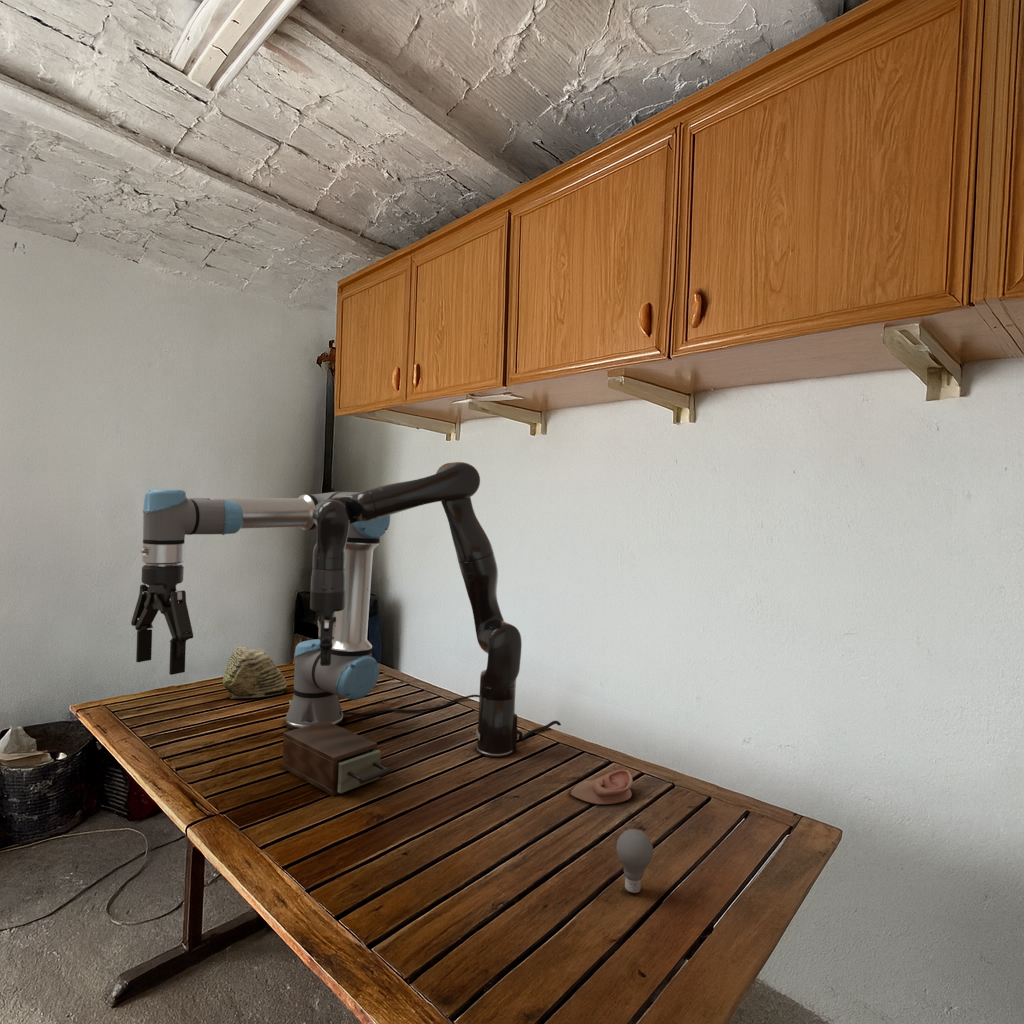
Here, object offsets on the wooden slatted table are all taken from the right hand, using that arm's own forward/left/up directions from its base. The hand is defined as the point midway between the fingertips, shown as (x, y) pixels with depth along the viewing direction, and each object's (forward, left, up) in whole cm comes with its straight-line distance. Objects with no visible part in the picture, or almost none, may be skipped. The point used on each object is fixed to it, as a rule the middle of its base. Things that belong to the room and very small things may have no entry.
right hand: (325, 660), depth 142 cm
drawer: (-4, +3, -26) cm, 26 cm away
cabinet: (-2, -2, -27) cm, 27 cm away
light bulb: (-42, +60, -27) cm, 78 cm away
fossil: (+11, -66, -27) cm, 72 cm away
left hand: (+33, -2, 0) cm, 33 cm away
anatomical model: (-56, +28, -27) cm, 68 cm away
